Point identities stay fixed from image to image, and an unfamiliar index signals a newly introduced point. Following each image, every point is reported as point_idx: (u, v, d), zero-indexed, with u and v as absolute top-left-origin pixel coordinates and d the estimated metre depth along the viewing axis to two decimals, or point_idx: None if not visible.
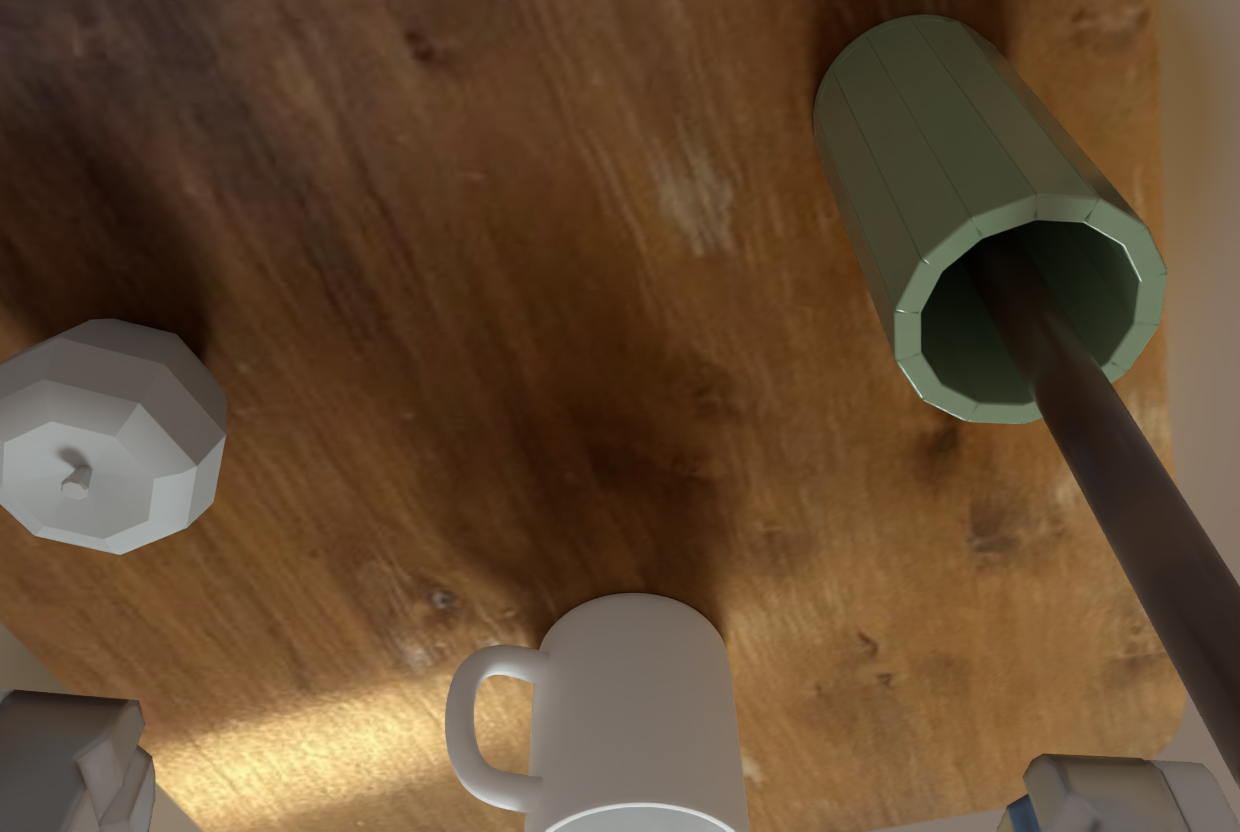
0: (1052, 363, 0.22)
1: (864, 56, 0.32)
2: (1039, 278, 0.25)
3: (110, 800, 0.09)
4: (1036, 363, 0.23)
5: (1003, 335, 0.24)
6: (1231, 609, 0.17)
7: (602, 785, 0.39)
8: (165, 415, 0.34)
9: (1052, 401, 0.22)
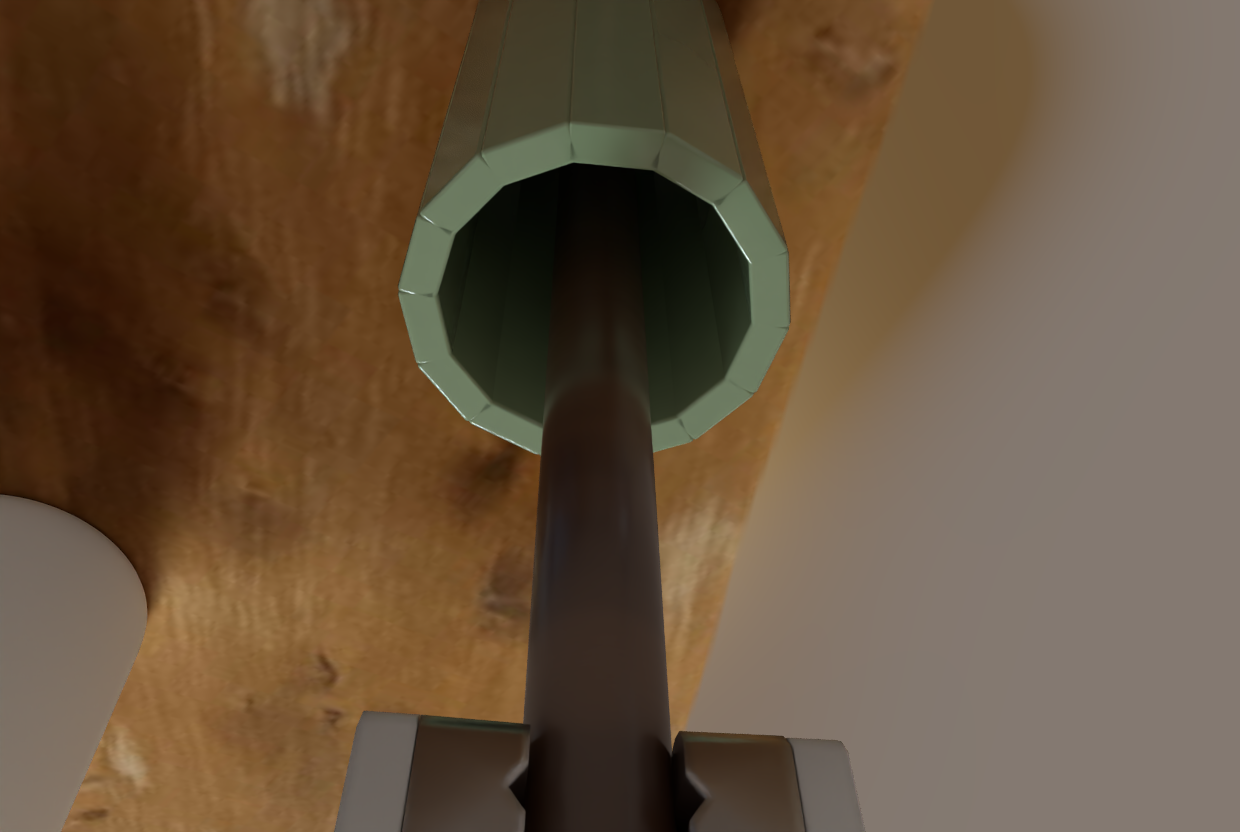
0: (587, 369, 0.14)
1: None
2: (633, 265, 0.17)
3: None
4: (568, 362, 0.15)
5: (552, 315, 0.16)
6: None
7: None
8: None
9: (560, 420, 0.14)
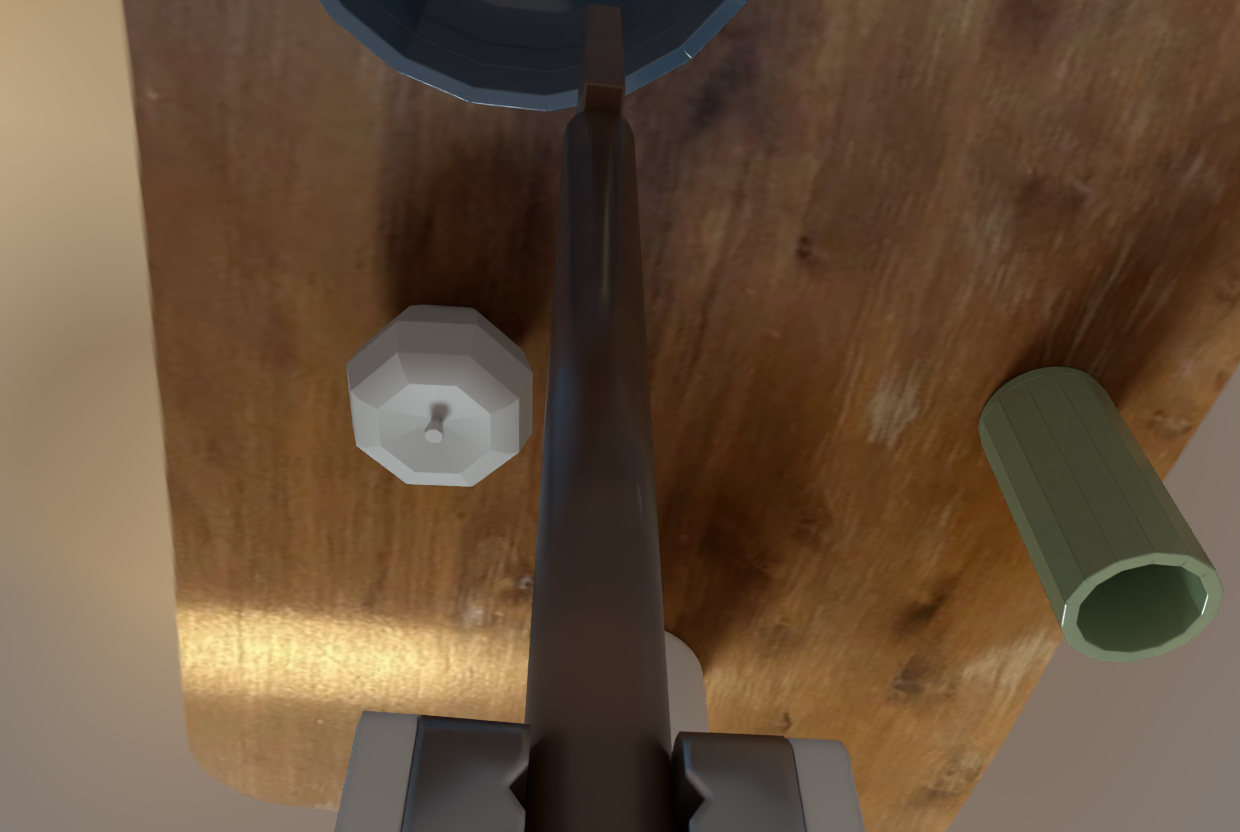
0: (588, 373, 0.14)
1: (1054, 387, 0.49)
2: (634, 269, 0.17)
3: None
4: (569, 366, 0.15)
5: (553, 319, 0.16)
6: None
7: None
8: (522, 410, 0.45)
9: (561, 423, 0.14)
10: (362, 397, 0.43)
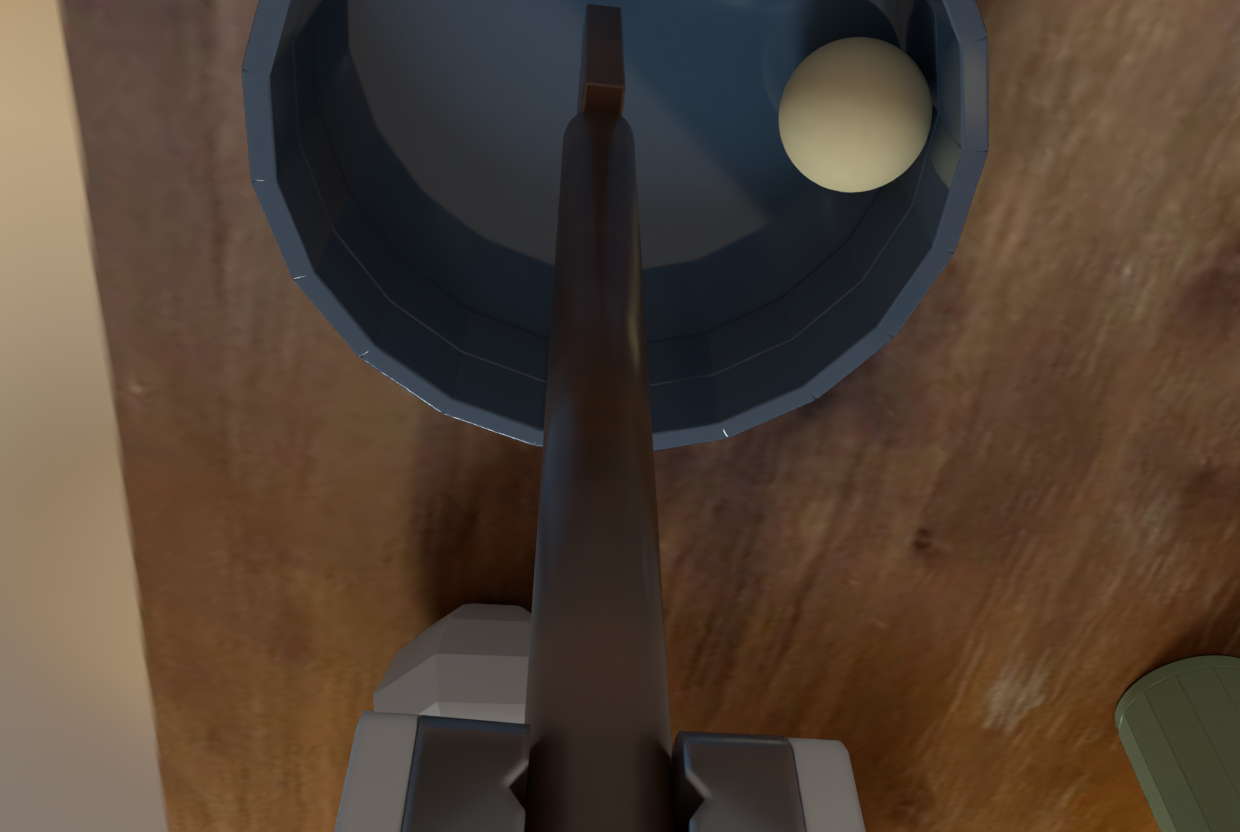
0: (588, 372, 0.14)
1: (1215, 688, 0.41)
2: (634, 268, 0.17)
3: None
4: (569, 365, 0.15)
5: (553, 318, 0.16)
6: None
7: None
8: None
9: (561, 423, 0.14)
10: None
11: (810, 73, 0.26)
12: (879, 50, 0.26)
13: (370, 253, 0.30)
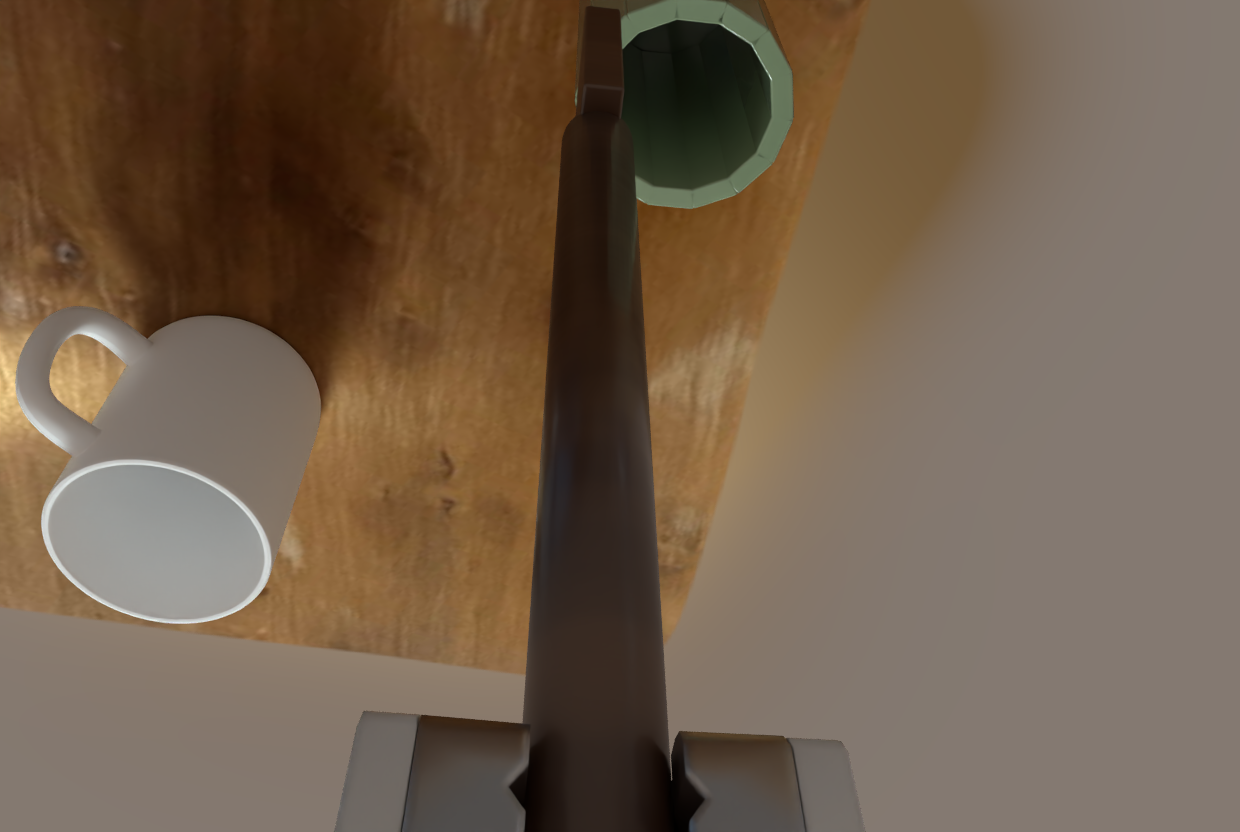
0: (586, 375, 0.15)
1: None
2: (633, 271, 0.17)
3: None
4: (567, 368, 0.15)
5: (551, 321, 0.16)
6: None
7: (160, 445, 0.40)
8: None
9: (559, 425, 0.14)
10: None
11: None
12: None
13: None
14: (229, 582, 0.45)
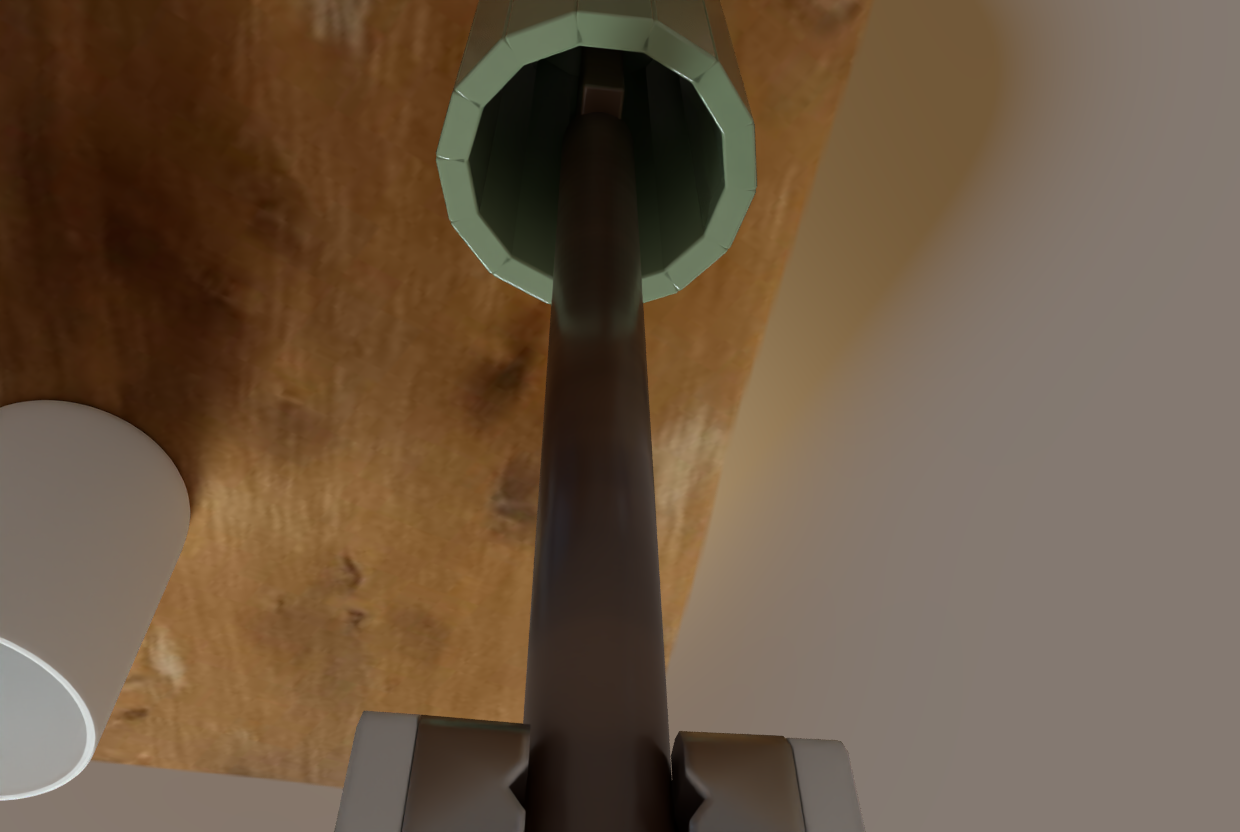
0: (586, 376, 0.15)
1: None
2: (633, 272, 0.17)
3: None
4: (568, 369, 0.15)
5: (552, 322, 0.16)
6: None
7: None
8: None
9: (559, 426, 0.14)
10: None
11: None
12: None
13: None
14: (56, 743, 0.36)
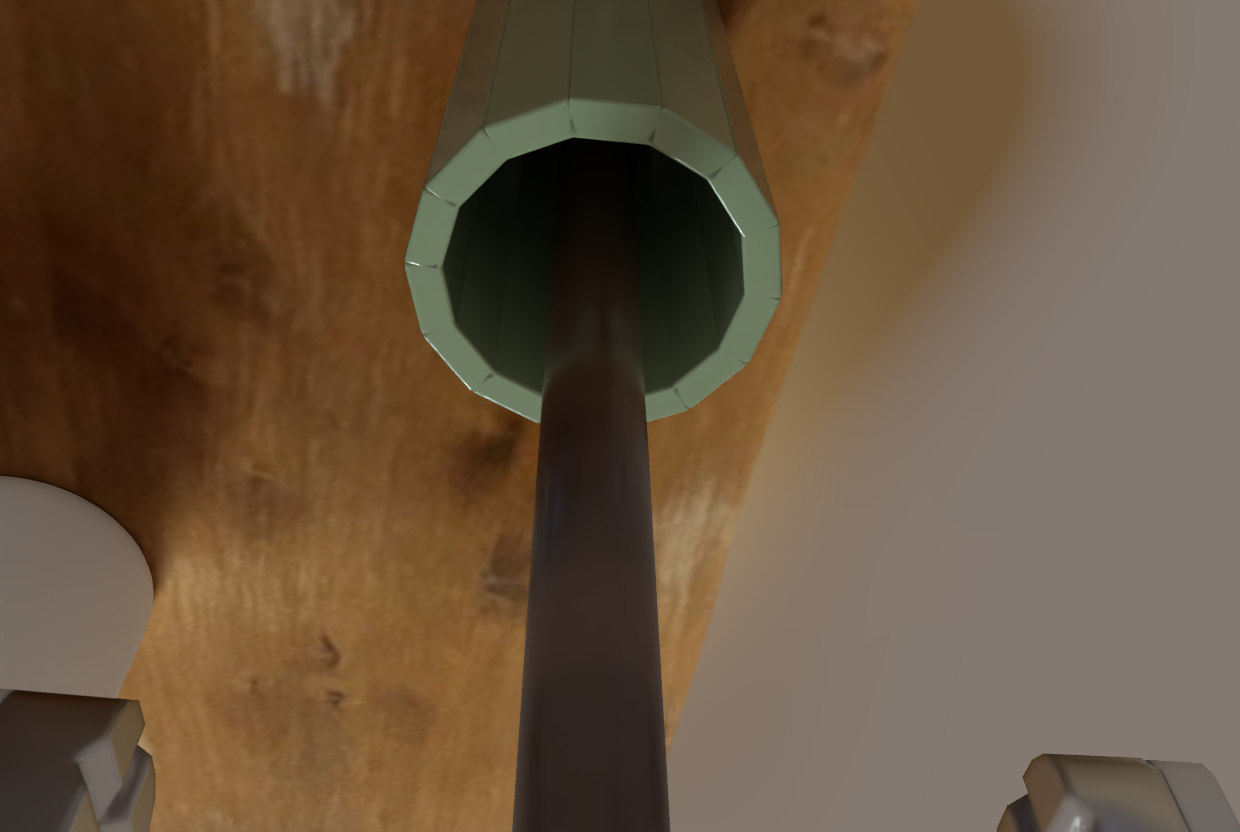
0: (584, 343, 0.15)
1: None
2: (629, 248, 0.18)
3: (110, 799, 0.09)
4: (566, 337, 0.16)
5: (551, 295, 0.17)
6: (630, 772, 0.10)
7: None
8: None
9: (558, 390, 0.15)
10: None
11: None
12: None
13: None
14: None
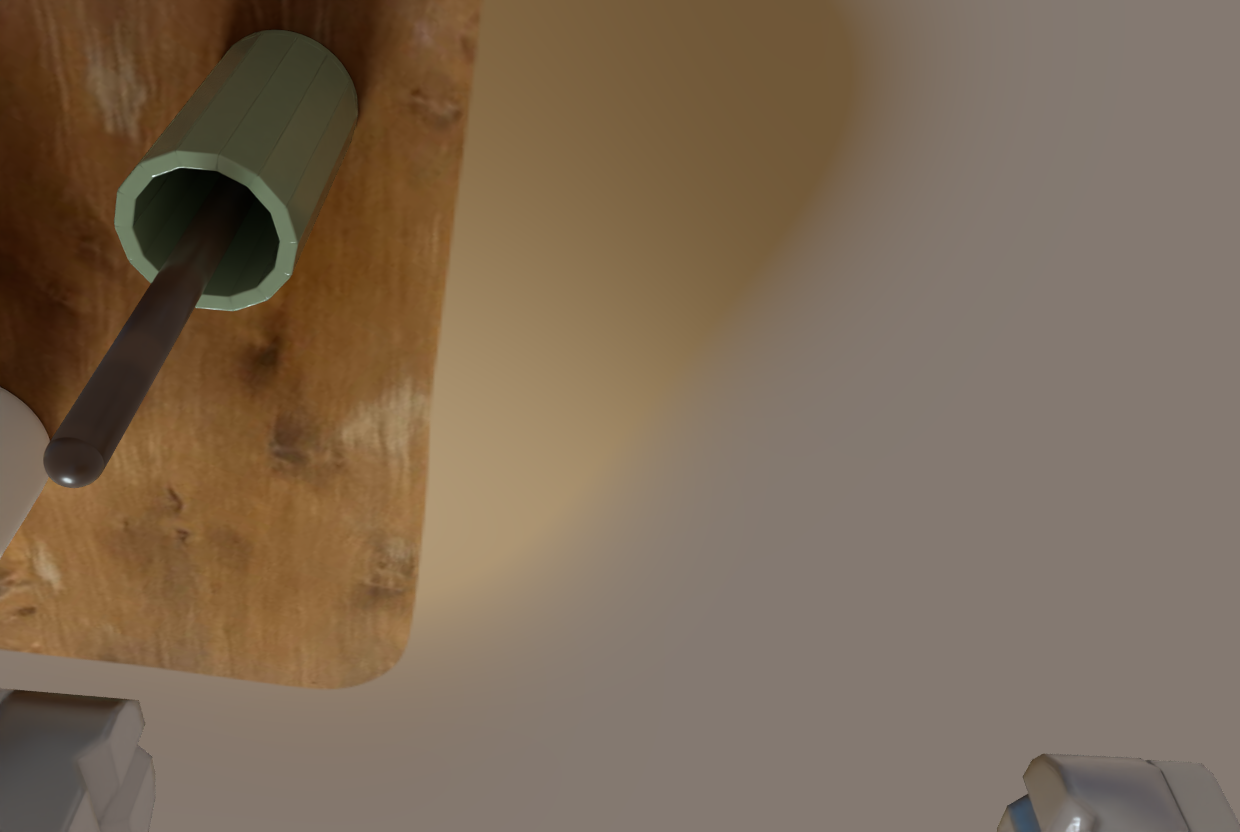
0: (174, 258, 0.35)
1: (249, 43, 0.44)
2: (226, 219, 0.38)
3: (110, 800, 0.09)
4: (170, 256, 0.35)
5: None
6: (114, 386, 0.29)
7: None
8: None
9: (156, 277, 0.34)
10: None
11: None
12: None
13: None
14: None
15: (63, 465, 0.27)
